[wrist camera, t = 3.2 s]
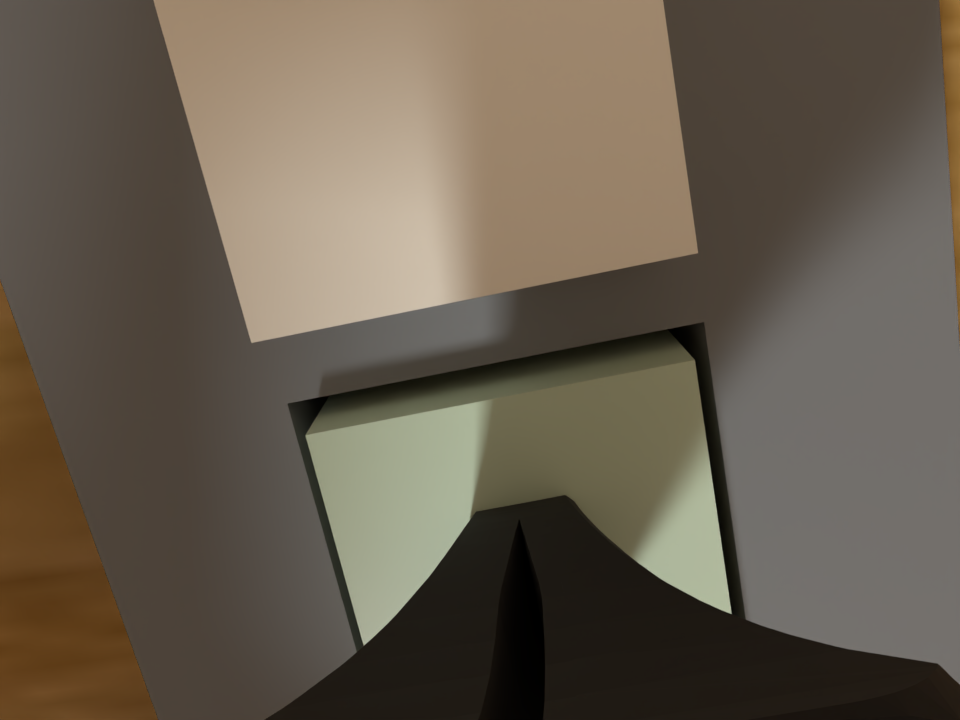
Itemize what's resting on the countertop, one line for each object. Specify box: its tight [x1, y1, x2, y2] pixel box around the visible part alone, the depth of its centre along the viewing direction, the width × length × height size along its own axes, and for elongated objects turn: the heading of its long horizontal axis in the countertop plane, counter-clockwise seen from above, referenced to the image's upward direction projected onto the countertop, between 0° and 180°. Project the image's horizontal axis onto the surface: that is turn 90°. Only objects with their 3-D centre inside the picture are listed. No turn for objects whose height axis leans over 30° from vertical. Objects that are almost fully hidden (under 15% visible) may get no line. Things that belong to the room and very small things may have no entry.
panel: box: [0, 0, 960, 720], centre depth 13 cm, size 21×12×3 cm, turn 12°
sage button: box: [305, 329, 732, 645], centre depth 13 cm, size 5×5×3 cm
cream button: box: [153, 0, 698, 343], centre depth 10 cm, size 5×5×3 cm
